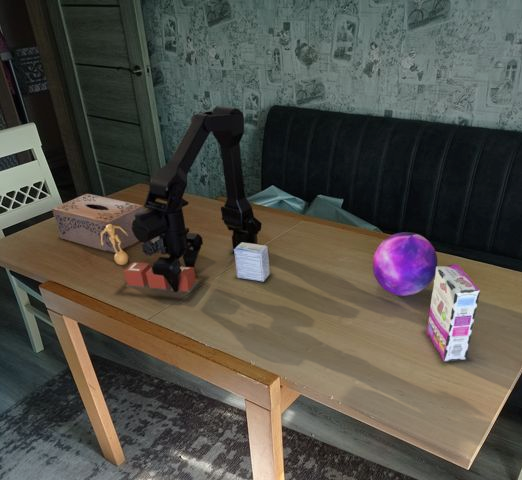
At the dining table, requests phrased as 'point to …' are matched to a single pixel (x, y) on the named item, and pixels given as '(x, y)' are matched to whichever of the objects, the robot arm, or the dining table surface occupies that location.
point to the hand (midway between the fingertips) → (183, 282)
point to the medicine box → (252, 261)
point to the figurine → (120, 256)
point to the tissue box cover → (96, 221)
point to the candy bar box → (452, 312)
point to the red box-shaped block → (156, 280)
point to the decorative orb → (404, 263)
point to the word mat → (164, 289)
